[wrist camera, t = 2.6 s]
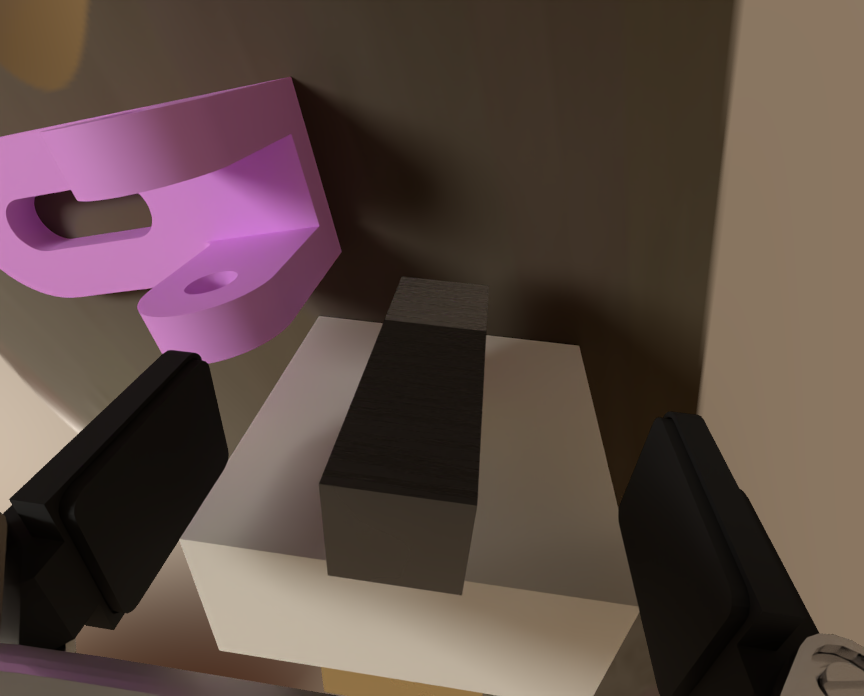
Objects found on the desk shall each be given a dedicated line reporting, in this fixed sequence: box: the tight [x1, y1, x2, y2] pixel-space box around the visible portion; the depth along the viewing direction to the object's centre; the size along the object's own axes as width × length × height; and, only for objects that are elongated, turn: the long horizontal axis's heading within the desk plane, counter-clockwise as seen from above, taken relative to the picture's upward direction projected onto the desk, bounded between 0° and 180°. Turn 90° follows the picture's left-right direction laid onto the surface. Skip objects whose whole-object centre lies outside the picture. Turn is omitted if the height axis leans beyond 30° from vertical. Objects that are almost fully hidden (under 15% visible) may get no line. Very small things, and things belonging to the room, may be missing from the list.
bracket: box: [0, 77, 342, 363], centre depth 15 cm, size 13×6×7 cm, turn 100°
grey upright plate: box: [319, 276, 489, 595], centre depth 14 cm, size 13×2×7 cm, turn 177°
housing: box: [179, 316, 639, 696], centre depth 16 cm, size 5×10×10 cm, turn 87°
